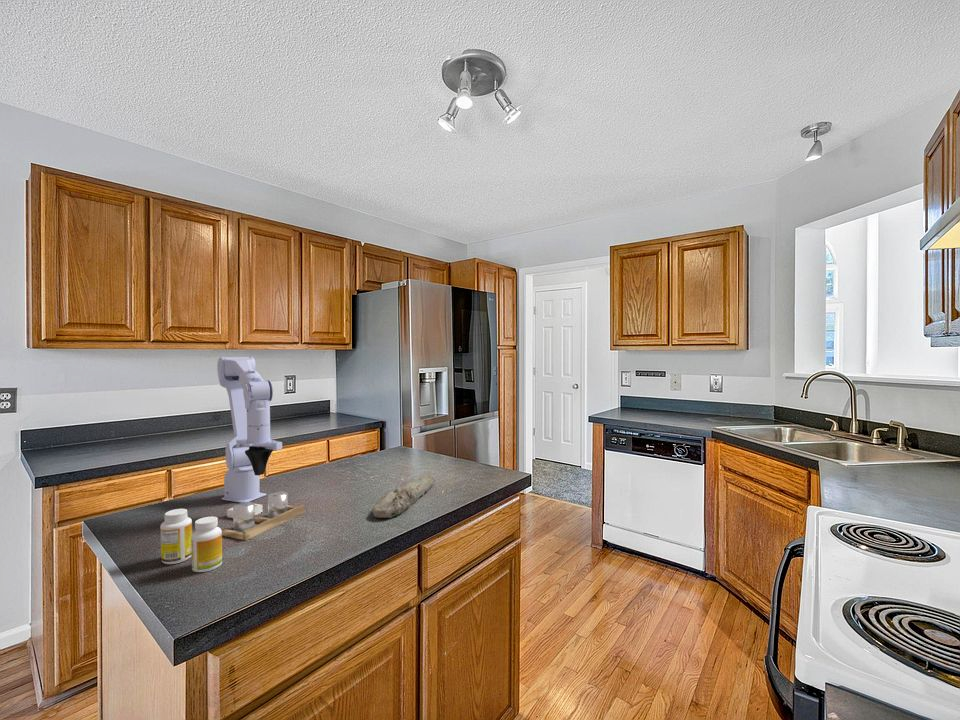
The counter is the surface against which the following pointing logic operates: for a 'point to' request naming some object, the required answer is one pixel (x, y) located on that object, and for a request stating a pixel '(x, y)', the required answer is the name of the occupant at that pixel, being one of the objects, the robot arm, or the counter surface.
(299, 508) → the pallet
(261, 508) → the button housing
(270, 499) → the cylinder
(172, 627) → the counter surface
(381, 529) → the counter surface
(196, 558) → the supplement bottle
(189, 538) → the supplement bottle
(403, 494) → the elongated rock
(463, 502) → the counter surface
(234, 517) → the billet
